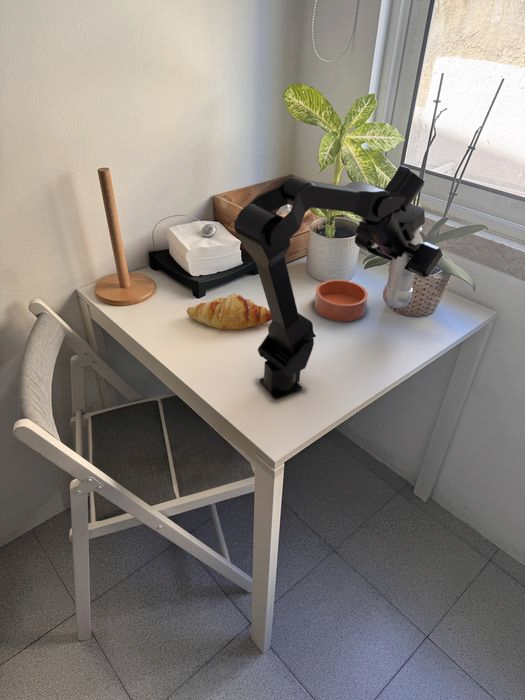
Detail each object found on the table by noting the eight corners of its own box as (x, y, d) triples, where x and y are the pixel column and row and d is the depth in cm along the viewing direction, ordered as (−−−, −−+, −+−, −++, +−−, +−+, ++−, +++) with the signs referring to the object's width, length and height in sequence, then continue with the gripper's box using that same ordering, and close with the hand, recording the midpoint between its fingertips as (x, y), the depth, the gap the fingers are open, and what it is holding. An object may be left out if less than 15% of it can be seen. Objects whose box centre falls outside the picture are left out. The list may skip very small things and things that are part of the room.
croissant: (186, 336, 122) (181, 320, 115) (190, 300, 126) (186, 282, 119) (274, 339, 121) (275, 323, 114) (276, 303, 125) (276, 285, 118)
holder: (334, 326, 121) (336, 310, 119) (304, 301, 130) (306, 286, 127) (375, 313, 127) (378, 298, 124) (344, 290, 135) (346, 275, 133)
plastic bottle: (405, 297, 120) (425, 215, 109) (412, 312, 115) (433, 228, 103) (378, 296, 120) (394, 214, 109) (383, 311, 115) (401, 226, 103)
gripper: (450, 209, 94) (466, 250, 107) (372, 181, 106) (395, 221, 118) (414, 259, 95) (435, 293, 107) (341, 226, 106) (367, 260, 119)
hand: (407, 265), depth 113 cm, fingers closed on plastic bottle, 6 cm apart
